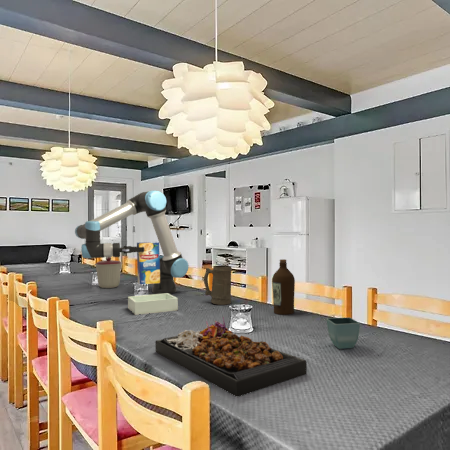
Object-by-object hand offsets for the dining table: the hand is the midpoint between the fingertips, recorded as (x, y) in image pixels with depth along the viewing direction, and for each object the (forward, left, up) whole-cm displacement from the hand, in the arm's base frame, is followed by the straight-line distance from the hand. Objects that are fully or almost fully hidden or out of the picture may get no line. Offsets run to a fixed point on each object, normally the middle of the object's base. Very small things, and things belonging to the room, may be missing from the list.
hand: (156, 248), depth 223 cm
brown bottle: (-46, +55, -30) cm, 77 cm away
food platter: (+7, +104, -30) cm, 109 cm away
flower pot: (-35, +109, -30) cm, 118 cm away
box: (+7, +17, -29) cm, 35 cm away
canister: (+15, -70, -30) cm, 78 cm away
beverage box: (+4, -1, -19) cm, 19 cm away
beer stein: (-28, +19, -30) cm, 45 cm away
